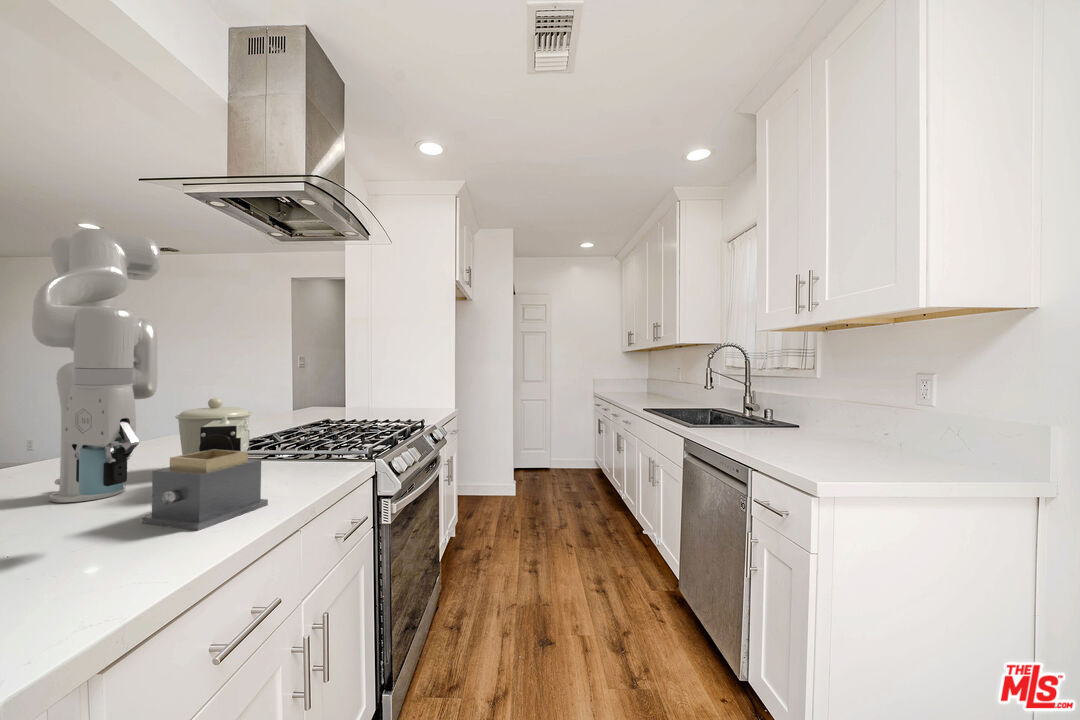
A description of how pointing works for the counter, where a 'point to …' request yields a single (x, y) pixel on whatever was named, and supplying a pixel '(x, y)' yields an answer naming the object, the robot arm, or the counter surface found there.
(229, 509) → the grey box
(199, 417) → the canister
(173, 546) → the counter surface
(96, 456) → the drain pump
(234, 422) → the cream boxy piece
